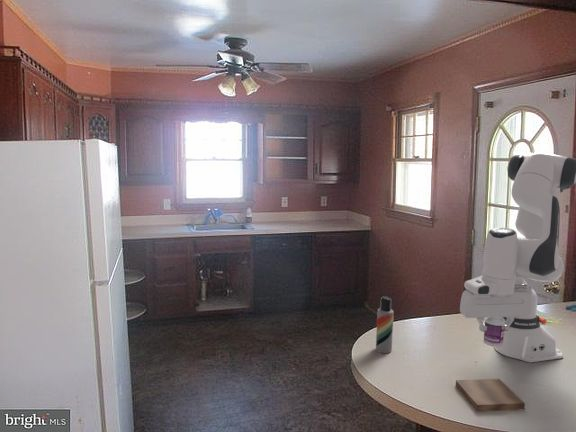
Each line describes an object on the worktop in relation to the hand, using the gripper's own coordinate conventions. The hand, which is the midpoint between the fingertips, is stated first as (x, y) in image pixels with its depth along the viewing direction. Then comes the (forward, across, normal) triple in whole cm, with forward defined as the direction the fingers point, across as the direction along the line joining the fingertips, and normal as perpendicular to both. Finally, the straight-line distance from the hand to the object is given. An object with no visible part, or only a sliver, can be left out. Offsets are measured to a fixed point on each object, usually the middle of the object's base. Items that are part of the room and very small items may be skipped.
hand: (494, 330), depth 139 cm
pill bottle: (+4, 0, 0) cm, 4 cm away
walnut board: (+21, 0, 0) cm, 21 cm away
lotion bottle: (+21, +22, -34) cm, 46 cm away
